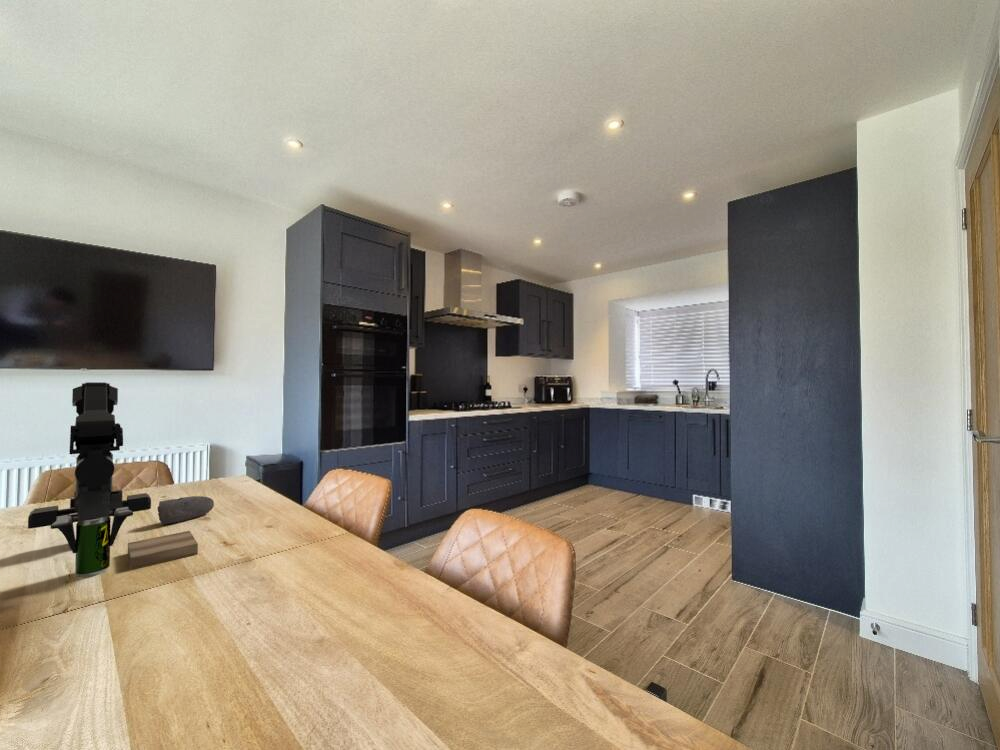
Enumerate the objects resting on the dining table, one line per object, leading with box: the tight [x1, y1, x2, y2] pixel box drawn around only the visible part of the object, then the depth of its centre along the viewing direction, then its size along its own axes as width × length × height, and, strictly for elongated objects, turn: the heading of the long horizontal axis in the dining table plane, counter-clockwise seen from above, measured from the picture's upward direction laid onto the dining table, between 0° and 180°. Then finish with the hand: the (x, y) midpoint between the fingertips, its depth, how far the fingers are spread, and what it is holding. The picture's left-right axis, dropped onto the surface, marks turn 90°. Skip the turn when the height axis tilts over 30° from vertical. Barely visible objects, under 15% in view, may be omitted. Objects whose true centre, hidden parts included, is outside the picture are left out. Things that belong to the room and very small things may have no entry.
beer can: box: [74, 515, 112, 578], centre depth 90 cm, size 5×5×12 cm
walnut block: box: [127, 530, 199, 570], centre depth 100 cm, size 12×12×2 cm
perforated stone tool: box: [157, 495, 215, 525], centre depth 125 cm, size 15×5×7 cm, turn 147°
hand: (93, 549), depth 90 cm, fingers closed on beer can, 5 cm apart
